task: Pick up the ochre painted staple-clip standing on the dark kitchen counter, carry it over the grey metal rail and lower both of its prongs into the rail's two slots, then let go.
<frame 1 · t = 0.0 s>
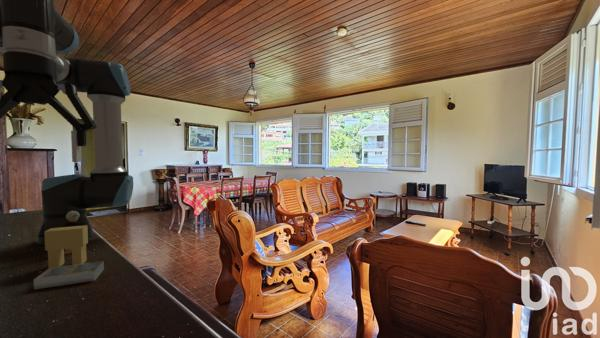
hand: (35, 162, 54), 28 cm above the kitchen counter, fingers open, 13 cm apart
rail: (71, 278, 64), on the kitchen counter
grandmother figurine: (74, 251, 83), on the kitchen counter
clip: (68, 264, 72), on the kitchen counter
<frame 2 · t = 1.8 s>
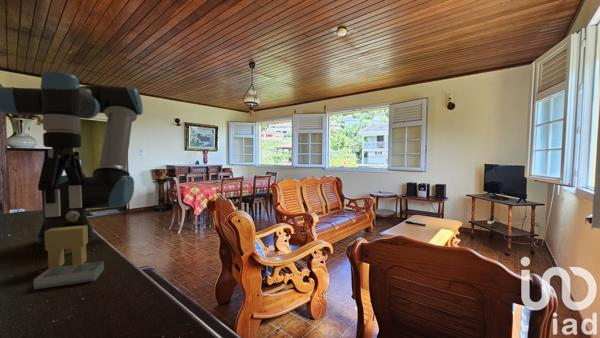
hand: (65, 211, 71), 15 cm above the kitchen counter, fingers open, 13 cm apart
nothing on the kitchen counter moved.
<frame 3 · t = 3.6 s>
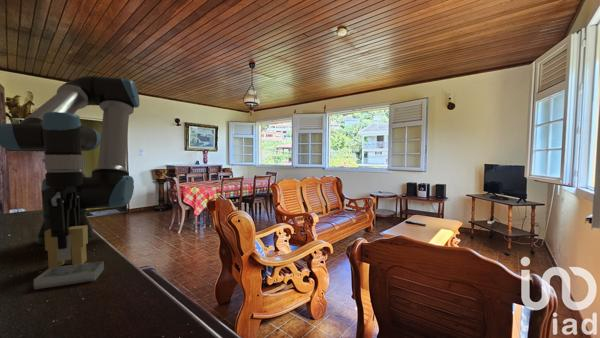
hand: (68, 256, 72), 2 cm above the kitchen counter, fingers closed on clip, 4 cm apart
clip: (68, 264, 72), on the kitchen counter, touching gripper
everything else where it was.
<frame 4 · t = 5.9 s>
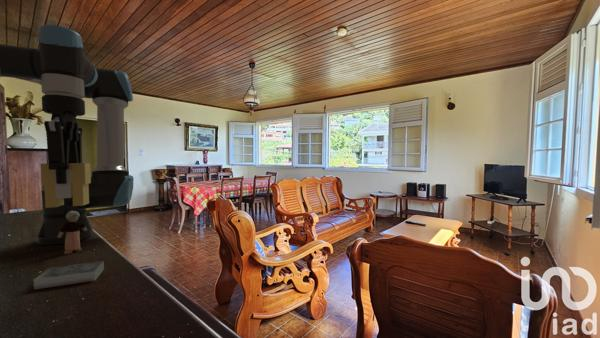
hand: (68, 196, 63), 20 cm above the kitchen counter, fingers closed on clip, 4 cm apart
clip: (68, 205, 63), point 18 cm above the kitchen counter, touching gripper
everything else where it was.
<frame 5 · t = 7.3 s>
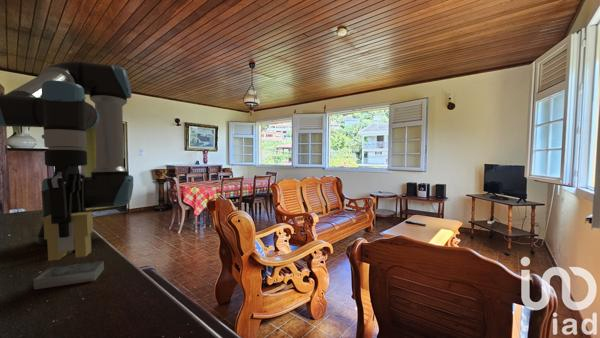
hand: (70, 247, 63), 8 cm above the kitchen counter, fingers closed on clip, 4 cm apart
clip: (70, 255, 63), point 6 cm above the kitchen counter, touching gripper
everything else where it was.
when the fingers open (4 cm above the kitchen counter, at t = 8.3 s): clip drops 2 cm, resting in rail.
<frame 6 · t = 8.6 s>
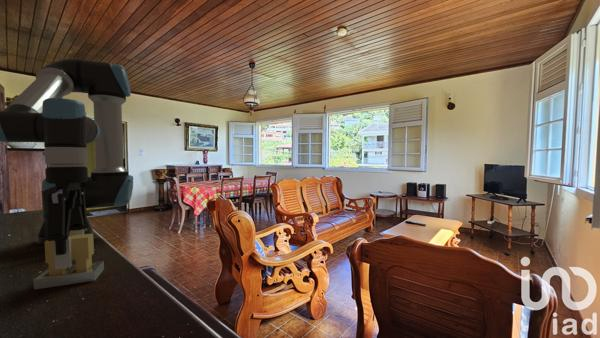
hand: (71, 261, 63), 4 cm above the kitchen counter, fingers open, 7 cm apart
clip: (71, 278, 64), resting in rail
everything else where it was.
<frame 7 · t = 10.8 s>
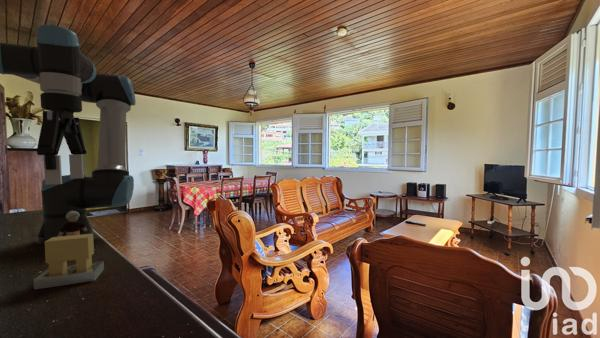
hand: (66, 181, 66), 23 cm above the kitchen counter, fingers open, 13 cm apart
nothing on the kitchen counter moved.
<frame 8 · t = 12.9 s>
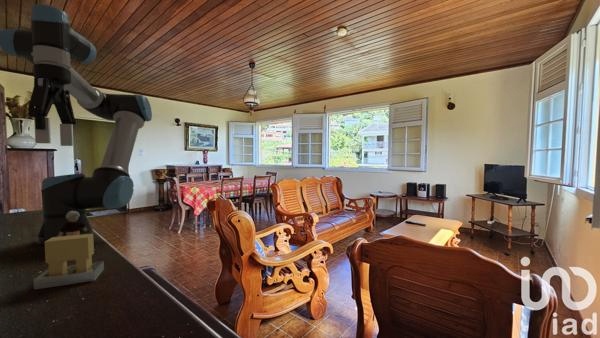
hand: (56, 144, 73), 33 cm above the kitchen counter, fingers open, 13 cm apart
nothing on the kitchen counter moved.
at the end: clip 0.0 cm off-centre on the rail, point 0.0 cm above the rail's base; clip tilted 0°; the gripper is holding nothing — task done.
